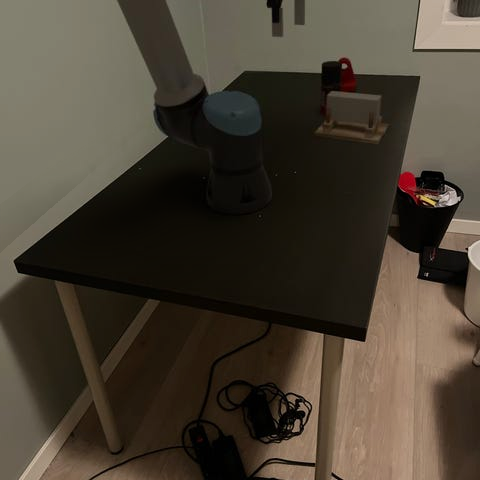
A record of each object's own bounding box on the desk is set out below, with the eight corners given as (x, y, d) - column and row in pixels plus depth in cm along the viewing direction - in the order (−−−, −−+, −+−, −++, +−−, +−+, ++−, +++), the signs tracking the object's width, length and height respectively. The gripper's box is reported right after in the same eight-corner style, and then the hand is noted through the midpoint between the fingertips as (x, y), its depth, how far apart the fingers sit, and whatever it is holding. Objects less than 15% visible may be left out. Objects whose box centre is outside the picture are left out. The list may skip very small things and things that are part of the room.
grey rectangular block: (375, 125, 130) (377, 100, 126) (326, 119, 136) (327, 95, 132) (379, 120, 133) (381, 95, 129) (330, 114, 139) (331, 91, 135)
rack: (377, 144, 129) (380, 117, 124) (314, 136, 136) (315, 110, 132) (388, 127, 137) (391, 102, 133) (328, 120, 145) (329, 96, 140)
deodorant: (316, 114, 150) (317, 65, 141) (327, 108, 153) (329, 59, 144) (332, 117, 146) (334, 67, 137) (343, 111, 149) (346, 62, 141)
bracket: (328, 92, 165) (329, 62, 159) (330, 86, 170) (331, 57, 164) (354, 92, 163) (356, 62, 157) (355, 86, 168) (357, 57, 162)
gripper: (280, -63, 101) (281, 42, 113) (323, -72, 118) (320, 20, 131) (249, -62, 104) (253, 41, 117) (295, -71, 122) (295, 19, 134)
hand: (289, 30), depth 124 cm, fingers open, 13 cm apart
